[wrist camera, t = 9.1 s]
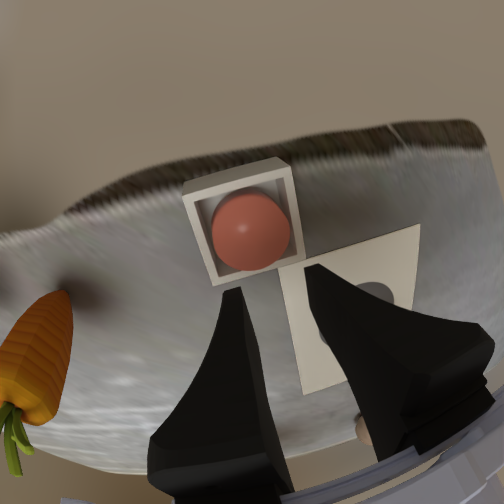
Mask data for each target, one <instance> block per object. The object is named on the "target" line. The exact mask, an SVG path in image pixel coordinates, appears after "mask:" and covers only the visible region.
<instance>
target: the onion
mask: <svg viewBox="0 0 504 504" xmlns="http://www.w3.org/2000/svg"><path fill="white" fill-rule="evenodd" d="M355 431H356V434H357V437H358V438H359V440H360V441H361V442H363V443H365V444H367V445H372V446H373V444H372V441H371V438H370V435H369V433H368V430H367V427H366V424H365V422H364V419H363V416H361V417H360V418H359V419H358V422H357V425H356V427H355Z"/></svg>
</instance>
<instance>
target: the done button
mask: <svg viewBox="0 0 504 504" xmlns="http://www.w3.org/2000/svg"><path fill="white" fill-rule="evenodd" d="M211 229H212V237H213V244H214V248H215V251H216V253H217V255H218V256H219V257H220V259H221V260H222V261H223V262H224V263H226V264H227V265H228V266H230V267H232V268H235V269H237V270H242V271H255V270H260V269H263V268H265V267H268V266H270V265H271V264H273V263H274V262H275V261H277V260H278V259H279V258H280V257H281V256H282V254H283V253H284V251H285V250H286V248H287V246H288V243H289V239H290V226H289V222H288V220H287V218H286V216H285V215H284V213H283V212H282V211H281V209H280V208H279V207H278V205H277V204H276V203H275V201H274V200H273V199H272V198H271V197H270V196H268V195H267V194H265V193H263V192H261V191H258V190H253V189H243V190H238V191H235V192H233V193H231V194H229V195H227V196H226V197H224V198H223V199H222V200H221V201H220V202H219V203H218V205H217V206H216V208H215V210H214V212H213V215H212V219H211Z"/></svg>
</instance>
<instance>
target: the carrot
mask: <svg viewBox="0 0 504 504" xmlns="http://www.w3.org/2000/svg"><path fill="white" fill-rule="evenodd" d="M72 337H73V313H72V308H71V303H70V298H69V294H68V293H67V292H66V291H64V290H58V291H54V292H51V293H48V294H46V295H45V296H43V297H41V298H39V299H38V300H37V301H36V302H35V303H34V304H33V305H31V306H30V307H29V308H28V309H27V310H26V312H25V313H24V314H23V315H22V316H21V317H20V318H19V319H18V320H17V322H16V323H15V325H14V326H13V328H12V329H11V331H10V333H9V334H8V336H7V337H6V339H5V340H4V342H3V344H2V345H1V347H0V434H1V431H2V428H3V426H4V423H5V427H4V446H5V453H6V458H7V463H8V467H9V471H10V474H12V475H14V476H16V477H20V476H23V473H22V469H21V465H20V460H19V456H18V451H17V447H16V443H17V445H18V447H19V448H20V449H21V450H22V451H23V452H24V453H25V454H27V455H33V454H34V449H33V446H32V445H31V444H30V442H29V440H28V437H27V434H26V432H25V429H24V427H23V424H22V422H23V423H26V424H30V425H33V426H40V425H43V424H45V423H46V422H48V421H49V420H51V419H52V418H54V416H55V415H56V413H57V411H58V408H59V404H60V400H61V395H62V391H63V387H64V383H65V379H66V374H67V370H68V366H69V362H70V354H71V346H72Z"/></svg>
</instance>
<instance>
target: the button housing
mask: <svg viewBox="0 0 504 504" xmlns="http://www.w3.org/2000/svg"><path fill="white" fill-rule="evenodd" d="M243 189H253V190H258V191H261V192H263V193H265V194H267V195H268V196H270V197H271V198H272V199H273V200H274V201H275V203H276V204H277V205H278V207H279V208H280V209H281V211H282V212H283V213H284V215H285V216H286V218H287V220H288V222H289V226H290V239H289V243H288V246H287V248H286V250H285V251H284V253H283V254H282V256H281V257H280V258H279V259H278V260H277V261H275V262H274V263H273V264H271V265H270V266H268V267H265V268H263V269H260V270H255V271H242V270H237V269H235V268H232V267H230V266H228V265H227V264H226V263H224V262H223V261H222V260H221V259H220V257H219V256H218V255H217V253H216V251H215V248H214V244H213V237H212V229H211V219H212V215H213V212H214V210H215V208H216V206H217V205H218V203H219V202H220V201H221V200H222V199H223V198H224V197H226V196H227V195H229V194H231V193H233V192H235V191H238V190H243ZM182 198H183V201H184V204H185V207H186V210H187V213H188V216H189V219H190V222H191V225H192V228H193V231H194V234H195V237H196V240H197V242H198V245H199V248H200V251H201V254H202V257H203V259H204V262H205V265H206V268H207V270H208V273H209V276H210V279H211V281H212V284H213V286H216V285H220V284H223V283H227V282H230V281H234V280H237V279H241V278H244V277H248V276H251V275H254V274H258V273H261V272H265V271H268V270H272V269H275V268H278V267H282V266H285V265H288V264H292V263H295V262H299V261H302V260H305V259H306V253H305V247H304V240H303V234H302V228H301V222H300V216H299V210H298V204H297V199H296V193H295V188H294V182H293V177H292V171H291V166H289V165H288V164H287V163H285V162H284V161H282V160H281V159H279V158H278V157H273V158H269V159H265V160H261V161H257V162H253V163H249V164H245V165H241V166H237V167H234V168H230V169H226V170H223V171H219V172H216V173H212V174H209V175H205V176H202V177H199V178H195V179H192V180H189V181H185V182H184V185H183V191H182Z"/></svg>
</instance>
